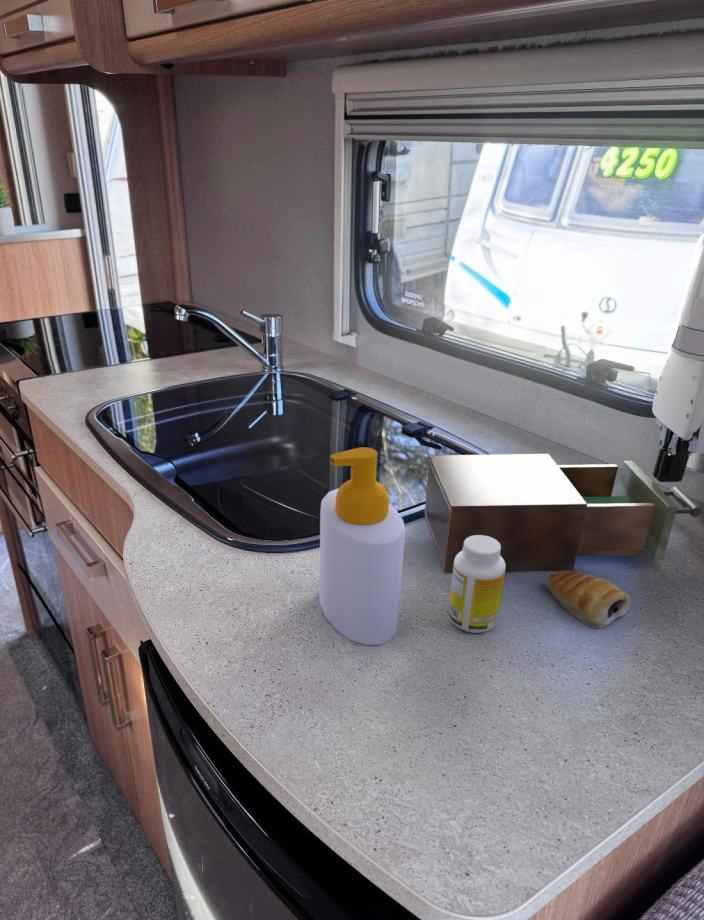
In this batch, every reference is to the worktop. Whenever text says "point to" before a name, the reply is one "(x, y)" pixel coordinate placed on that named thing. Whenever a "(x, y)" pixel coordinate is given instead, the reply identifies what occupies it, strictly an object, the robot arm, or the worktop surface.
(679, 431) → the robot arm
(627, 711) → the worktop surface
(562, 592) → the pastry
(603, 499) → the sponge
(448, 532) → the cabinet
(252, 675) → the worktop surface
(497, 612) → the supplement bottle
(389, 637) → the soap bottle
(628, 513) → the drawer
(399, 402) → the worktop surface
